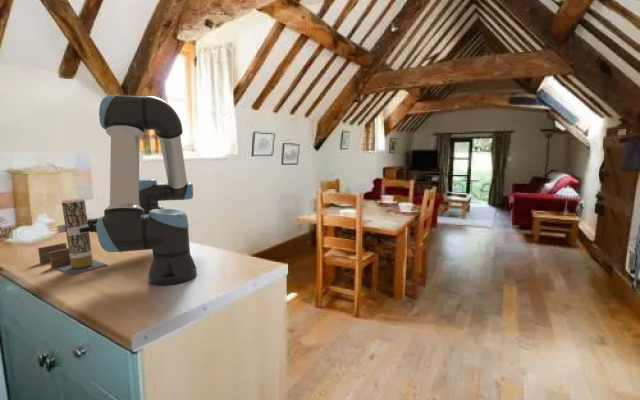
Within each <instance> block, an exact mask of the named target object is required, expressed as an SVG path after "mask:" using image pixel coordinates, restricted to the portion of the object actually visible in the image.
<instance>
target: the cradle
mask: <svg viewBox="0 0 640 400" xmlns="http://www.w3.org/2000/svg"><path fill="white" fill-rule="evenodd" d="M37 251H38V257H39V264H41V265H42V264H46V263H49V262H50V267H51V269H55V268H56V269H57V268H59V267H63V266H67V265H71V261H70V255H69V248H68V245H67V243H66V242H62V243H57V244H52V245H47V246H41V247H38V248H37Z"/></svg>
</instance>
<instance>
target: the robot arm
mask: <svg viewBox="0 0 640 400" xmlns="http://www.w3.org/2000/svg"><path fill="white" fill-rule="evenodd" d="M98 117H99V118H98V119H99V124H100V126H101V128H102V129H103V130H105V133H106V135H108V137H110V160H109V163H110V167H109V169H110V170H109V171H110V172H109V181H110V182H109V205H108V207H106V208H105V209H104V210H103V215H101V216H100V217H99V216H98V218H89V219H87V222H88V225H84V226H79V227H73V228H67V230H68V236H73V235H78V234H84V233H89V234H90V233H96V235H97V241H98V243H99V245H100V247H101V249H103V250H104V251H105V252H107V253H123V252H136V251H146V250H148V251H149V250H151V252H152V261H151V264H150V268H149V272H148V282H149V283H151V284H152V285H157V286H171V285H178V284H182V283H185V282H188V281H191V280H192V279H194V278H196V277H197V276H198V274H197V273H198V272H197V271H198V270H197V266H196V264H195V261H194V260H193V257H192V255H191V254H192V253H191V250H190V247H191V246H190V236H189V227H190V224H189V221H188V220H189V218H188V215H187V213H186V212H184V211H182V210H178V209H172V208H165V207H164V206H162V205H159V202H162V201H163V202H164V201H187V200H192V199H193V198H194V185H193V183H192V182H188V180H187V172H186V165H185V159H184V152H183V144H182V137H181V136H182V135H183V132H184V131H183V124H182V122H181V118H180V117H179V115H178V114H177V112H176V110H175V109H174V108H173V107H172V106H171V105H170V104H169V103H167V102H166V101H165V100H163V99H162V98H160V97H156V96H152V95H147V96H146V95H122V94H114V95H112V94H111V95H106V96H104V97H103V98H102V100H101V101H100V104H99V109H98ZM152 130H153V131H154V133H155V135H156V137H158V138H159V143H160V149H161V154H162V158H163V164H164V169H165V174H166V180H167V183H163V182H162V183H161V182H157V179H156V178H155V179H154V178H143V179H140V140H141V139H142V138H143V137H145V131H152ZM56 229H57V230H56V231H57V234H62V233H66V228H65V223H64V224H57V225H56Z"/></svg>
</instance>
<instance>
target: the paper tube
mask: <svg viewBox="0 0 640 400" xmlns="http://www.w3.org/2000/svg"><path fill="white" fill-rule="evenodd" d="M61 206H62V207H61V208H62V214H63V220H64V224H65V228H66V232H65V234H66V239H67V248H69V255H70V261H71V264H70V265H71V267H72V268H75V269H78V268H85V267H88V266H90V265H92V264H93V260H94V259H93V252H92V245H91V238H90V237H91V236H90V232H89V233H84V234H78V235H73V236H68V230H67V228H73V227H79V226H84V225H88V222H87V220H88V216H87V209H86V208H87V207H86V202H85V198H70V199H64V200H61Z"/></svg>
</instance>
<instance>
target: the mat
mask: <svg viewBox="0 0 640 400" xmlns="http://www.w3.org/2000/svg"><path fill="white" fill-rule="evenodd" d="M107 266H108V264H107V263H104V262H102V261H98V260H95V259H93V264H92V265H90V266H88V267H85V268H78V269H75V268H72V267H71V264H68V265H64V266H60V267H56V270H58V271H60V272H63V273H65V274H67V275H70V276H75V275H78V274H81V273H85V272H89V271H93V270H97V269H100V268H104V267H107Z"/></svg>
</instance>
